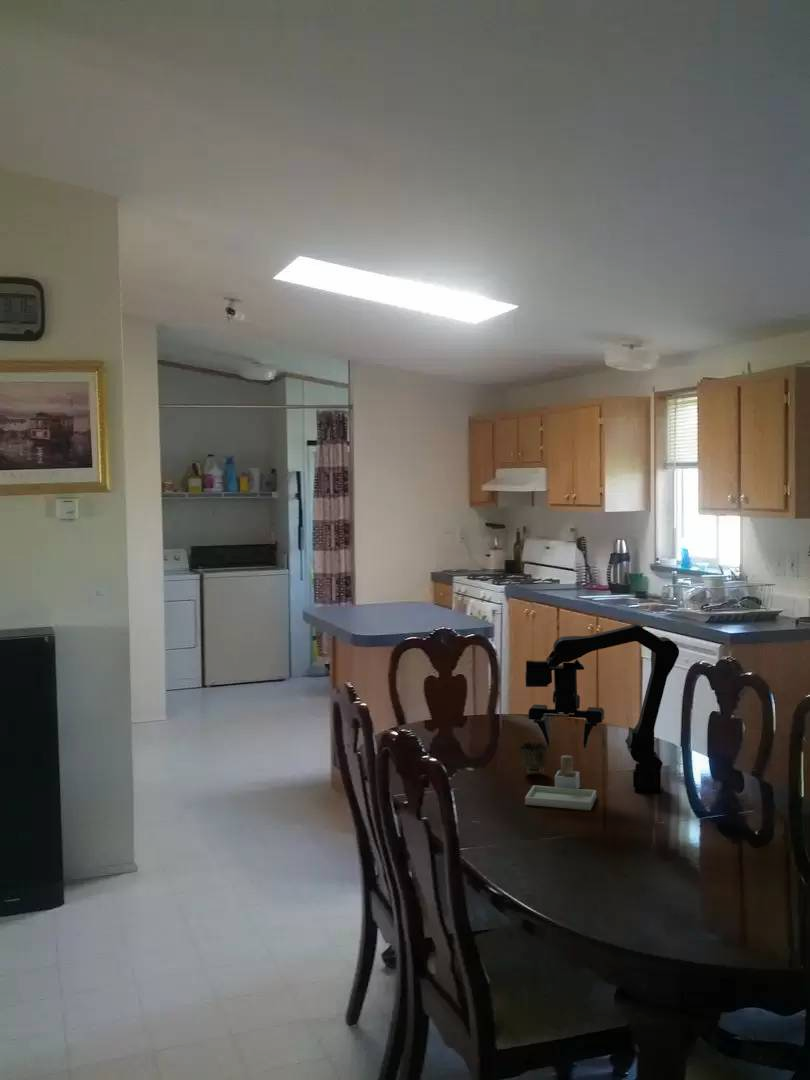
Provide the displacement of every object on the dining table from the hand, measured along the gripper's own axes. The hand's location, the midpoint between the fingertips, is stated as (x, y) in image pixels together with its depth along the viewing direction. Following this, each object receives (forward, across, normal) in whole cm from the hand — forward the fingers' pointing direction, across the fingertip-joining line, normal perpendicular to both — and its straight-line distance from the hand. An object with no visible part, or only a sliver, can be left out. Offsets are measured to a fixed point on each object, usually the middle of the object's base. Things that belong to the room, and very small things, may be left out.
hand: (566, 746), depth 240 cm
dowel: (+11, 0, 0) cm, 11 cm away
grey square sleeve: (+11, 0, 0) cm, 11 cm away
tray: (+11, 0, +10) cm, 15 cm away
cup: (+11, +11, -11) cm, 19 cm away
